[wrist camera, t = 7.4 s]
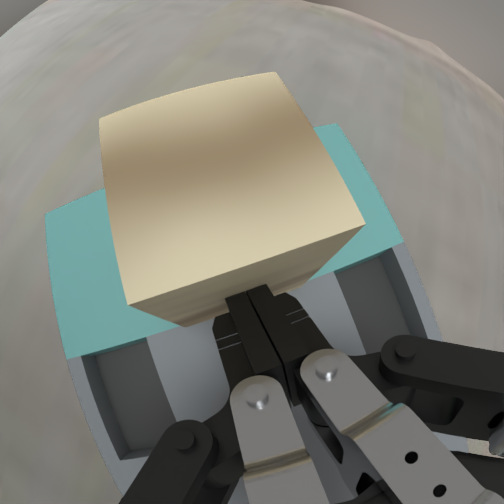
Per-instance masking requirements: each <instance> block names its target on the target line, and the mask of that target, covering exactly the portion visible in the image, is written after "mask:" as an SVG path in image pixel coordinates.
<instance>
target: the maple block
mask: <svg viewBox="0 0 504 504" xmlns="http://www.w3.org/2000/svg"><path fill="white" fill-rule="evenodd" d="M99 130H100V145H101V157H102V167H103V176H104V185H105V193H106V200H107V207H108V214H109V220H110V226H111V232H112V237H113V243H114V248H115V253H116V258H117V262H118V267H119V272H120V276H121V280H122V285H123V289H124V293H125V297H126V301H127V305H129V306H131V307H133V308H136V309H138V310H141V311H143V312H146V313H148V314H151V315H153V316H156V317H158V318H161V319H164V320H166V321H169V322H172V323H174V324H177V325H180V326H182V327H185V328H186V327H189V326H192V325H195V324H198V323H201V322H204V321H207V320H210V319H213V318H215V317H216V316H219V315H222V314H225V313H228V312H229V310H228V307H227V304H226V301H225V298H227V297H229V296H232V295H235V294H238V293H241V292H244V291H245V293H246V291H247V290H250V289H252V288H255V287H258V286H261V285H264V284H267V286H268V287H269V289H270V291H271V292H272V294H273V295H274V296H276V295H278V294H281V293H284V292H289V291H292V290H294V289H297V288H300V287H302V286H303V285H304V284H305V283H306V282H307V281H308V280H309V279H310V278H311V277H312V276H313V275H314V274H315V273H317V272H318V271H319V270H320V269H321V268H322V267H323V266H324V265H325V264H326V263H327V262H328V261H329V260H330V259H331V258H332V257H333V256H334V255H335V254H336V253H337V252H338V251H339V250H340V249H341V248H342V247H343V246H345V245H346V244H347V243H348V242H349V241H350V240H351V239H352V238H353V237H354V236H355V235H356V234H357V233H358V232H359V231H360V230H361V229H362V228H363V227H364V226H365V225H366V223H365V221H364V219H363V217H362V215H361V213H360V211H359V209H358V207H357V205H356V203H355V201H354V199H353V197H352V195H351V193H350V192H349V190H348V188H347V186H346V184H345V182H344V180H343V179H342V177H341V175H340V173H339V171H338V169H337V168H336V166H335V164H334V162H333V161H332V159H331V157H330V155H329V154H328V152H327V150H326V149H325V147H324V145H323V144H322V142H321V140H320V139H319V137H318V135H317V134H316V132H315V130H314V129H313V127H312V126H311V124H310V122H309V121H308V119H307V118H306V116H305V115H304V113H303V112H302V110H301V108H300V107H299V105H298V104H297V102H296V101H295V99H294V98H293V96H292V95H291V93H290V92H289V91H288V89H287V88H286V86H285V85H284V83H283V82H282V80H281V79H280V78H279V76H278V75H277V73H276V72H269V73H262V74H256V75H250V76H245V77H239V78H234V79H229V80H224V81H219V82H215V83H210V84H206V85H202V86H198V87H194V88H190V89H186V90H182V91H179V92H175V93H172V94H168V95H165V96H162V97H158V98H155V99H152V100H149V101H146V102H143V103H140V104H137V105H134V106H131V107H128V108H125V109H123V110H120V111H117V112H115V113H112V114H110V115H107V116H105V117H102V118H100V119H99Z"/></svg>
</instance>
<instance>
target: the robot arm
mask: <svg viewBox="0 0 504 504" xmlns="http://www.w3.org/2000/svg"><path fill="white" fill-rule="evenodd" d="M225 301H226V304H227V307H228V310H229V312H228V313H225V314H222V315H219V316H216V317H215V319H214V323H213V326H212V331H213V334H214V337H215V341H216V344H217V348H218V351H219V354H220V358H221V361H222V364H223V368H224V371H225V374H226V377H227V380H228V384H229V388H230V393H229V398H228V400H227V402H226V404H225V405H224V407H223V408H222V409H221V410H220V411H219V412H217V413H216V414H215V415H213V416H212V417H210V418H208V419H207V420H205V421H204V422H199V421H196V420H190V419H189V420H181V421H178V422H176V423H174V424H172V425H171V426H169V427H168V428H167V429H166V430H165V432H164V433H163V435H162V436H161V438H160V440H159V441H158V443H157V444H156V446H155V448H154V449H153V451H152V452H151V454H150V455H149V457H148V459H147V460H146V462H145V463H144V465H143V467H142V468H141V470H140V471H139V473H138V474H137V476H136V478H135V479H134V481H133V482H132V484H131V485H130V487H129V488H128V490H127V492H126V493H125V495H124V496H123V498H122V499H121V501H120V502H119V504H228V502H229V500H230V498H231V496H232V494H233V492H234V490H235V488H236V486H237V484H238V481H239V479H240V477H242V476H243V478H244V484H245V488H246V492H247V496H248V500H249V504H330V503H329V501H328V498H327V496H326V493H325V491H324V488H323V486H322V483H321V481H320V479H319V476H318V474H317V471H316V469H315V466H314V464H313V461H312V459H311V457H310V455H309V453H308V452H307V450H306V448H305V445H304V443H303V440H302V438H301V435H300V433H299V430H298V427H297V425H296V422H295V419H294V417H293V414H292V412H291V409H290V408H292V407H291V403H292V405H293V407H295V406H297V405H300V404H302V406H303V408H304V410H305V412H306V414H307V420H308V423H309V425H310V426H311V428H312V430H313V431H314V433H315V434H316V436H317V437H318V439H319V440H320V442H321V443H322V445H323V446H324V448H325V449H326V451H327V452H328V454H329V455H330V457H331V458H332V460H333V461H334V463H335V464H336V466H337V468H338V470H339V472H340V475H341V477H342V479H343V481H344V483H345V484H346V486H347V487H348V489H349V490H350V492H351V493H352V495H353V496H354V499H352V500H349V501H345V502H341V503H336V504H504V459H503V458H496V457H489V456H483V455H477V454H472V453H466V452H461V451H449V450H448V449H447V448H446V446H445V445H444V444H443V443H442V442H441V441H440V440H439V439H438V438H437V437H436V436H435V434H434V433H433V432H437V433H442V434H448V435H453V436H459V437H465V438H471V439H478V440H485V441H489V444H490V445H489V452H490V453H491V454H492V455H498V456H501V457H504V353H503V352H497V351H491V350H485V349H480V348H474V347H468V346H463V345H458V344H452V343H447V342H442V341H437V340H432V339H427V338H422V337H417V336H412V335H397V336H394V337H392V338H390V339H388V340H387V341H386V342H385V343H384V345H383V347H382V349H381V352H376V353H371V354H366V355H360V356H350V355H346V354H345V353H343V352H341V351H339V350H335V349H334V348H333V347H332V346H331V345H330V344H329V342H328V341H327V339H326V338H325V337H324V335H323V334H322V333H321V331H320V330H319V328H318V327H317V326H316V324H315V323H314V322H313V320H312V319H311V318H310V317H309V315H308V313H307V312H306V311H305V309H303V307H302V305H301V304H300V302H299V301H298V300H297V298H295V297H293V296H291V295H289V294H288V293H286V292H284V293H281V294H278V295H276V296H274V295H273V294H272V292H271V291H270V289H269V287H268V286H267V284H264V285H261V286H258V287H255V288H252V289H250V290H247V291H246V293H245V291H244V292H241V293H238V294H235V295H232V296H229V297H227V298H225ZM290 401H291V402H290ZM432 431H433V432H432Z"/></svg>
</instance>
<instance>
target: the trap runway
mask: <svg viewBox="0 0 504 504" xmlns="http://www.w3.org/2000/svg"><path fill="white" fill-rule="evenodd" d="M313 129H314V130H315V132H316V134H317V135H318V137H319V139H320V140H321V142H322V144H323V145H324V147H325V149H326V150H327V152H328V154H329V155H330V157H331V159H332V161H333V162H334V164H335V166H336V168H337V169H338V171H339V173H340V175H341V177H342V179H343V180H344V182H345V184H346V186H347V188H348V190H349V192H350V193H351V195H352V197H353V199H354V201H355V203H356V205H357V207H358V209H359V211H360V213H361V215H362V217H363V219H364V221H365V223H366V225H365V226H364V227H363V228H362V229H361V230H360V231H359V232H358V233H357V234H356V235H355V236H354V237H353V238H352V239H351V240H350V241H349V242H348V243H347V244H346V245H345V246H343V247H342V248H341V249H340V250H339V251H338V252H337V253H336V254H335V255H334V256H333V257H332V258H331V259H330V260H329V261H328V262H327V263H326V264H325V265H324V266H323V267H322V268H321V269H320V270H319V271H318V272H317V273H315V274H314V275H313V276H312V277H311V278H310V279H309V280H308V281H307V282H306V283H305V284H304V285H303V286H302V287H300V288H297V289H294V290H292V291H289V292H286V293H288V294H289V295H291V296H293V297H295V298H297V300H298V301H299V302H300V304H301V305H302V307H303V309H305V311H306V312H307V313H308V315H309V317H310V318H311V319H312V320H313V322H314V323H315V324H316V326H317V327H318V328H319V330H320V331H321V333H322V334H323V335H324V337H325V338H326V339H327V341H328V342H329V344H330V345H331V346H332V347H333V348H334V349H335V350H339V351H341V352H343V353H345V354H346V355H350V356H360V355H366V354H371V353H376V352H381V349H382V347H383V345H384V343H385V342H386V341H387V340H388V339H390V338H392V337H394V336H397V335H412V336H417V337H422V338H427V339H432V340H437V341H442V342H443V340H442V337H441V334H440V331H439V328H438V325H437V322H436V319H435V316H434V313H433V311H432V308H431V305H430V302H429V300H428V297H427V295H426V292H425V289H424V287H423V284H422V282H421V279H420V277H419V275H418V272H417V270H416V268H415V265H414V263H413V261H412V258H411V256H410V254H409V252H408V249H407V247H406V245H405V243H404V241H403V239H402V237H401V234H400V232H399V230H398V228H397V226H396V224H395V222H394V220H393V218H392V216H391V214H390V212H389V210H388V208H387V206H386V205H385V203H384V201H383V199H382V197H381V195H380V193H379V191H378V190H377V188H376V186H375V184H374V182H373V181H372V179H371V177H370V175H369V174H368V172H367V170H366V169H365V167H364V165H363V163H362V162H361V160H360V158H359V157H358V155H357V154H356V152H355V150H354V149H353V147H352V145H351V144H350V142H349V141H348V139H347V138H346V136H345V135H344V133H343V131H342V130H341V128H340V127H339V125H338V124H337V123H336V124H330V125H325V126H319V127H314V128H313ZM45 228H46V243H47V254H48V264H49V272H50V280H51V287H52V294H53V300H54V305H55V311H56V316H57V321H58V326H59V330H60V335H61V339H62V343H63V348H64V351H65V355H66V359H67V363H68V366H69V370H70V373H71V377H72V380H73V383H74V386H75V389H76V392H77V395H78V398H79V401H80V404H81V407H82V410H83V412H84V415H85V418H86V420H87V423H88V425H89V428H90V430H91V433H92V435H93V437H94V440H95V442H96V444H97V447H98V449H99V451H100V453H101V455H102V458H103V460H104V462H105V464H106V466H107V468H108V470H109V472H110V474H111V476H112V478H113V480H114V482H115V483H116V485H117V487H118V489H119V491H120V493H121V494H122V496H124V495H125V493H126V492H127V490H128V488H129V487H130V485H131V484H132V482H133V481H134V479H135V478H136V476H137V474H138V473H139V471H140V470H141V468H142V467H143V465H144V463H145V462H146V460H147V459H148V457H149V455H150V454H151V452H152V451H153V449H154V448H155V446H156V444H157V443H158V441H159V440H160V438H161V436H162V435H163V433H164V432H165V430H166V429H167V428H168V427H169V426H171V425H172V424H174V423H176V422H178V421H181V420H189V419H190V420H196V421H199V422H204V421H205V420H207V419H208V418H210V417H212V416H213V415H215V414H216V413H217V412H219V411H220V410H221V409H222V408H223V407H224V405H225V404H226V402H227V400H228V398H229V393H230V388H229V384H228V380H227V377H226V374H225V371H224V368H223V364H222V361H221V358H220V354H219V351H218V348H217V344H216V341H215V337H214V334H213V331H212V326H213V323H214V319H215V318H213V319H210V320H207V321H204V322H201V323H198V324H195V325H192V326H189V327H186V328H185V327H182V326H180V325H177V324H174V323H172V322H169V321H166V320H164V319H161V318H158V317H156V316H153V315H151V314H148V313H146V312H143V311H141V310H138V309H136V308H133V307H131V306H129V305H127V301H126V297H125V293H124V289H123V285H122V280H121V276H120V272H119V267H118V262H117V258H116V253H115V248H114V243H113V237H112V232H111V226H110V220H109V214H108V207H107V200H106V193H105V188H103V189H101V190H98V191H96V192H94V193H91V194H89V195H86V196H84V197H82V198H79V199H77V200H75V201H73V202H70V203H68V204H66V205H64V206H61V207H59V208H57V209H55V210H53V211H51V212H48V213H46V214H45ZM290 402H291V401H290ZM291 407H292V408H290V409H291V412H292V414H293V417H294V419H295V422H296V425H297V427H298V430H299V433H300V435H301V438H302V440H303V443H304V445H305V448H306V450H307V452H308V453H309V455H310V457H311V459H312V461H313V464H314V466H315V469H316V471H317V474H318V476H319V479H320V481H321V483H322V486H323V488H324V491H325V493H326V496H327V498H328V501H329V503H330V504H336V503H341V502H345V501H349V500H352V499H354V496H353V495H352V493H351V492H350V490H349V489H348V487H347V486H346V484H345V483H344V481H343V479H342V477H341V475H340V472H339V470H338V468H337V466H336V464H335V463H334V461H333V460H332V458H331V457H330V455H329V454H328V452H327V451H326V449H325V448H324V446H323V445H322V443H321V442H320V440H319V439H318V437H317V436H316V434H315V433H314V431H313V430H312V428H311V426H310V425H309V423H308V420H307V414H306V412H305V410H304V408H303V406H302V404H300V405H297V406H295V407H293V405H292V403H291ZM432 432H433V431H432ZM433 433H434V434H435V436H436V437H437V438H438V439H439V440H440V441H441V442H442V443H443V444H444V445H445V446H446V448H447V449H448V450H449V451H461V452H466V453H468V447H467V440H466V438H465V437H459V436H453V435H448V434H442V433H437V432H433ZM228 504H249V500H248V496H247V492H246V488H245V484H244V478H243V476H242V477H240V479H239V481H238V484H237V486H236V488H235V490H234V492H233V494H232V496H231V498H230V500H229V502H228Z"/></svg>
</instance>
